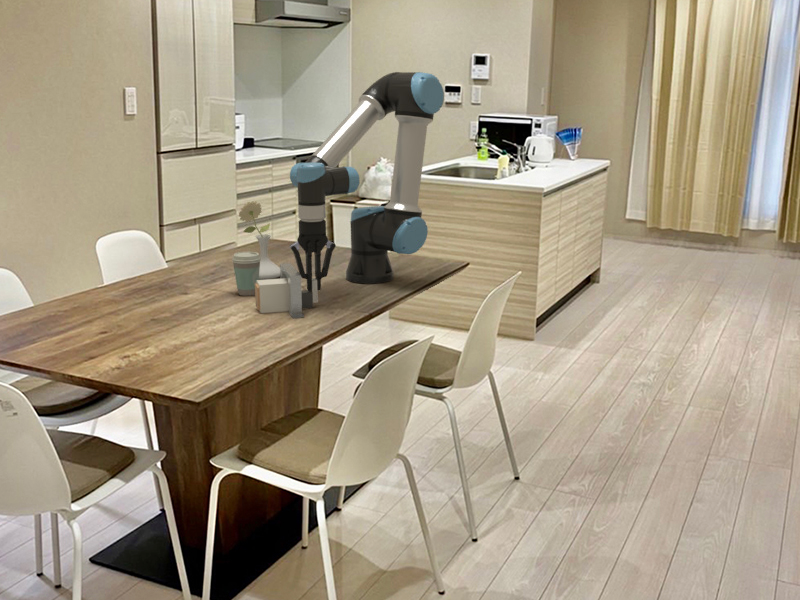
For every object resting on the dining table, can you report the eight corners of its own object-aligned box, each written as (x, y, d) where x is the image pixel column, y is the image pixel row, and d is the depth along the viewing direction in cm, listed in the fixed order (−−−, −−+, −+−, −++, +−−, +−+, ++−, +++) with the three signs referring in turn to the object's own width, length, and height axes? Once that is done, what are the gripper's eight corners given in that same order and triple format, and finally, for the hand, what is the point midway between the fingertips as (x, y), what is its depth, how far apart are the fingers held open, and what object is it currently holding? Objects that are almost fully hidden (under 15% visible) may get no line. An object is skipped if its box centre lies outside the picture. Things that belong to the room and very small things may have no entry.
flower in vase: (279, 272, 292) (276, 197, 285) (285, 280, 281) (283, 202, 275) (239, 275, 288) (235, 199, 281) (244, 283, 277) (241, 204, 271)
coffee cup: (256, 297, 261) (254, 257, 258) (229, 296, 263) (227, 256, 260) (266, 290, 269) (264, 251, 266) (239, 289, 271) (238, 250, 268)
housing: (290, 298, 260) (288, 261, 257) (303, 317, 241) (302, 277, 238) (279, 299, 259) (278, 261, 256) (292, 318, 240) (291, 278, 237)
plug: (309, 303, 255) (309, 276, 252) (314, 309, 249) (313, 281, 247) (255, 307, 250) (254, 280, 248) (258, 313, 245) (257, 285, 242)
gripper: (332, 216, 251) (333, 296, 257) (286, 218, 247) (289, 300, 253) (338, 220, 244) (339, 303, 250) (291, 222, 240) (294, 306, 246)
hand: (314, 301), depth 252 cm, fingers closed
